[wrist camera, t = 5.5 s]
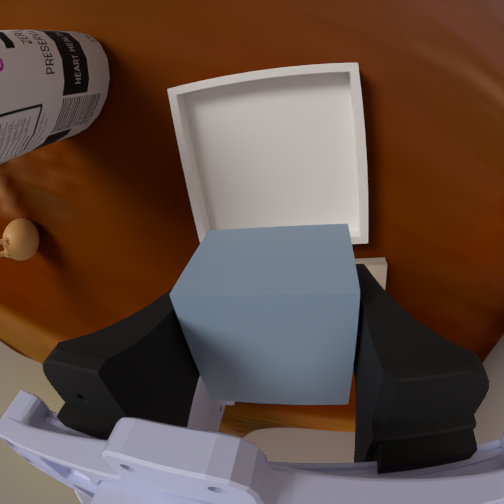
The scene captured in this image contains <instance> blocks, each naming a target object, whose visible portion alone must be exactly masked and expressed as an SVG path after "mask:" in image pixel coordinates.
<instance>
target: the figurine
mask: <svg viewBox="0 0 504 504" xmlns="http://www.w3.org/2000/svg"><path fill="white" fill-rule="evenodd" d="M0 245H3V246H4V251H1V252H0V257H3V256H5V257H8V258H13V259H15V260H26V259H29V258H30V257H32V256H33V255H34V253H35V252H36V250H37V248H38V245H39V233H38V230H37V228H36V227H35V225H34V224H33V223H32V222H30V221H29V220H27V219H16V220H14V221H12V222H11V223H9V224H8V226H7V227H6V229H5V231H4V234H3V239H0Z"/></svg>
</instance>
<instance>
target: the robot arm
mask: <svg viewBox="0 0 504 504" xmlns="http://www.w3.org/2000/svg"><path fill="white" fill-rule="evenodd" d="M356 270H357V275H358V281H359V287H360V304H359V316H358V328H357V338H356V348H355V357H354V365H353V366H354V373H355V383H356V432H355V455H354V463H330V464H328V463H327V464H325V463H324V464H315V463H313V464H312V463H283V462H268V461H267V457H266V455H265V454H264V453H263V452H262V451H261V450H260V449H259V448H258V447H257V445H256V444H254V443H251V442H249V441H247V440H245V439H243V438H241V437H238V436H233V435H229V434H225V433H220V432H218V430H219V426H220V423H221V419H222V416H223V413H224V409H225V406H226V405H234V404H235V401H224V400H214V399H210V397H209V395H208V392H207V390H206V388H205V385H204V383H203V381H202V378H201V376H200V373H199V371H198V369H197V366H196V364H195V361H194V359H193V356H192V354H191V351H190V349H189V346H188V344H187V341H186V338H185V336H184V333H183V331H182V328H181V325H180V323H179V320H178V317H177V315H176V312H175V309H174V306H173V304H172V301H171V298H170V295H169V294H170V292H171V291H172V289H173V288H172V289H171V290H170V291H168V292H167V293H166V294H164V295H163V296H161V297H160V298H158V299H157V300H155V301H154V302H153V303H151V304H150V305H148V306H147V307H145V308H143V309H142V310H140V311H138V312H137V313H135V314H133V315H131V316H130V317H128V318H126V319H124V320H122V321H119V322H117V323H115V324H113V325H111V326H109V327H107V328H104V329H102V330H99V331H96V332H94V333H91V334H88V335H85V336H82V337H78V338H74V339H70V340H67V341H63V342H59V343H58V344H57V345H56V347H55V348H54V349H53V351H52V352H51V353H50V354H49V356H48V357H47V358H46V360H45V361H44V363H43V370H44V373H45V376H46V377H47V379H48V380H49V382H50V383H51V385H52V386H53V387H54V388H55V390H56V391H57V392H58V394H59V395H60V396H61V398H62V399H63V400H64V401H65V404H64V405H63V407H62V408H61V410H60V412H59V413H56V412H53V411H51V410H49V408H48V407H47V405H46V404H45V403H44V402H43V401H42V400H41V399H40V398H39V397H37V396H36V395H33V394H31V393H29V392H26V391H24V390H21V391H20V392H19V393H18V395H17V396H16V398H15V399H14V400H13V402H12V403H11V405H10V406H9V408H8V409H7V410H6V412H5V413H4V415H3V416H2V418H1V419H0V437H1V438H2V439H3V440H4V441H5V442H6V443H7V444H8V445H9V446H10V447H11V448H12V449H13V450H15V451H16V452H17V453H18V454H19V455H20V456H21V457H23V458H24V459H25V460H26V461H27V462H28V463H30V464H32V465H33V466H35V467H37V468H38V469H40V470H41V471H43V472H45V473H46V474H48V475H50V476H51V477H53V478H55V479H57V480H59V481H60V482H62V483H64V484H65V485H67V486H69V487H71V488H73V489H75V493H76V495H77V497H78V499H79V500H80V502H81V503H82V504H504V433H503V435H502V436H501V438H500V439H498V440H494V441H490V442H487V443H483V444H479V445H477V444H476V440H475V436H474V431H473V429H474V428H475V427H476V421H475V417H474V414H475V412H476V411H477V409H478V407H479V406H480V404H481V402H482V401H483V399H484V398H485V396H486V394H487V391H488V389H489V380H488V377H487V374H486V371H485V369H484V366H483V364H482V362H481V360H480V358H479V356H478V354H477V353H474V352H472V351H470V350H467V349H465V348H463V347H460V346H458V345H456V344H454V343H452V342H450V341H448V340H446V339H444V338H443V337H441V336H439V335H437V334H436V333H434V332H433V331H431V330H430V329H428V328H427V327H425V326H424V325H422V324H421V323H419V322H418V321H417V320H415V319H414V318H413V317H412V316H410V315H409V314H408V313H407V312H406V311H404V310H403V309H402V308H401V307H400V306H399V305H398V304H397V303H396V302H395V301H394V300H393V299H392V298H391V297H390V296H389V294H388V293H387V292H386V291H385V290H384V289H383V288H382V286H381V285H380V284H379V283H378V282H377V280H376V279H375V278H374V276H373V275H372V274H371V272H370V271H369V270H368V268H367V267H366V266H365V265H364V264H356Z"/></svg>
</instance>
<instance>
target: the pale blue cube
mask: <svg viewBox="0 0 504 504" xmlns="http://www.w3.org/2000/svg"><path fill="white" fill-rule="evenodd" d="M169 295H170V298H171V301H172V304H173V306H174V309H175V312H176V315H177V317H178V320H179V323H180V325H181V328H182V331H183V333H184V336H185V338H186V341H187V344H188V346H189V349H190V351H191V354H192V356H193V359H194V361H195V364H196V366H197V369H198V371H199V373H200V376H201V378H202V381H203V383H204V385H205V388H206V390H207V392H208V395H209V397H210V399H214V400H224V401H235V402H248V403H265V404H291V405H338V404H348V401H349V395H350V388H351V380H352V373H353V365H354V357H355V348H356V338H357V328H358V316H359V304H360V287H359V281H358V275H357V270H356V264H355V258H354V253H353V248H352V242H351V237H350V232H349V227H348V224H323V225H300V226H279V227H260V228H241V229H224V230H209V231H208V232H207V234H206V235H205V237H204V239H203V240H202V242H201V243H200V245H199V247H198V248H197V250H196V251H195V253H194V255H193V256H192V258H191V259H190V261H189V263H188V264H187V266H186V268H185V269H184V271H183V273H182V274H181V276H180V277H179V279H178V281H177V282H176V284H175V286H174V287H173V289H172V291H171V292H170V294H169Z"/></svg>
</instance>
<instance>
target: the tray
mask: <svg viewBox="0 0 504 504" xmlns="http://www.w3.org/2000/svg"><path fill="white" fill-rule="evenodd" d="M167 91H168V96H169V102H170V107H171V112H172V117H173V123H174V128H175V133H176V138H177V143H178V147H179V152H180V157H181V162H182V167H183V171H184V176H185V180H186V185H187V190H188V194H189V198H190V203H191V207H192V212H193V216H194V220H195V225H196V229H197V233H198V237H199V241H200V243H201V242H202V240H203V239H204V237H205V235H206V234H207V232H208V231H209V230H224V229H241V228H260V227H279V226H300V225H323V224H348V227H349V232H350V237H351V242H352V244H367V243H368V173H367V153H366V137H365V124H364V112H363V102H362V92H361V84H360V76H359V68H358V63H332V64H316V65H303V66H292V67H283V68H274V69H267V70H259V71H253V72H246V73H240V74H234V75H228V76H223V77H218V78H213V79H208V80H203V81H198V82H194V83H190V84H185V85H181V86H177V87H173V88H169V89H167Z"/></svg>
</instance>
